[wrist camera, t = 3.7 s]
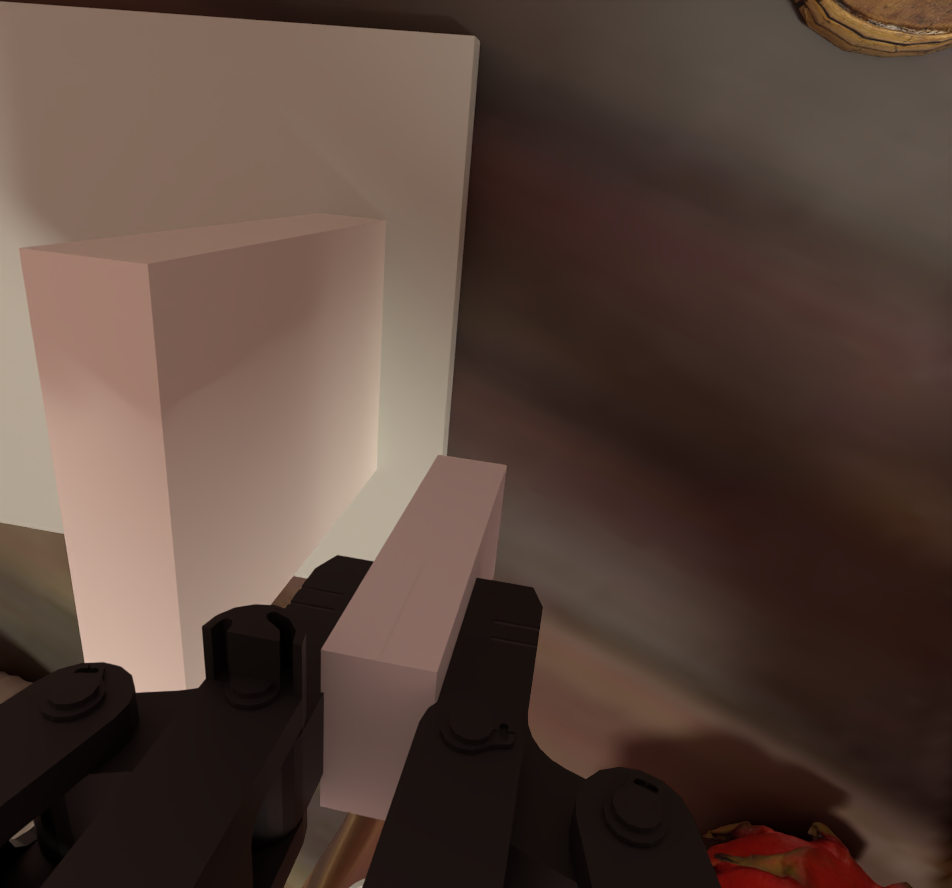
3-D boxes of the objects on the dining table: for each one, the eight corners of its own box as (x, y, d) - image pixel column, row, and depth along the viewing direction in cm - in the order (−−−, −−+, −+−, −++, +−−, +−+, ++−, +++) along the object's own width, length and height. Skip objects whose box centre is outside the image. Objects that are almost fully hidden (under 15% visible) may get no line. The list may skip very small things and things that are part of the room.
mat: (480, 41, 23) (475, 35, 22) (435, 588, 31) (430, 600, 30) (-134, -4, 26) (-161, -11, 25) (-26, 505, 34) (-43, 514, 33)
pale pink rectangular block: (386, 220, 25) (147, 264, 12) (376, 469, 28) (188, 710, 15) (314, 212, 25) (6, 246, 12) (314, 460, 29) (79, 686, 16)
